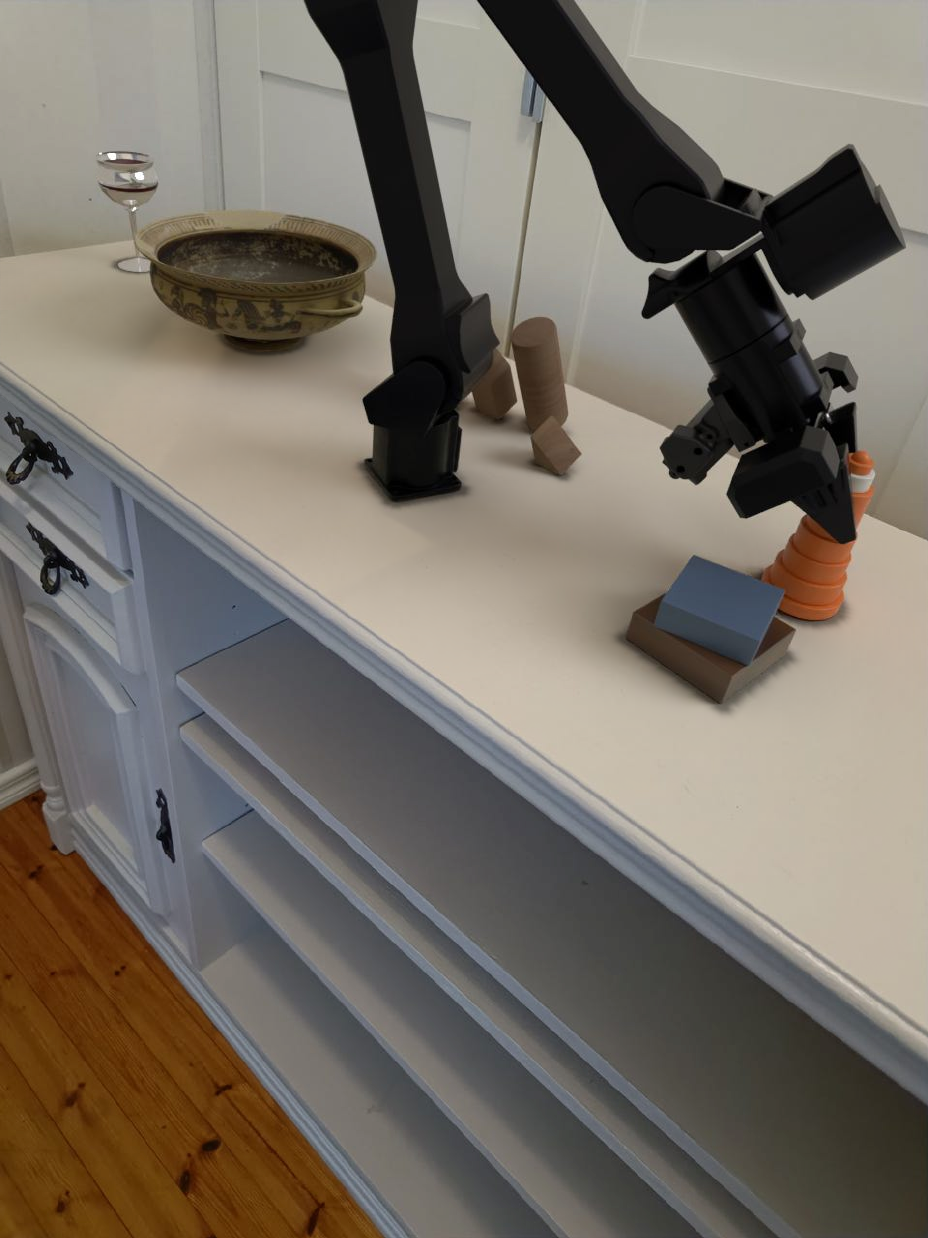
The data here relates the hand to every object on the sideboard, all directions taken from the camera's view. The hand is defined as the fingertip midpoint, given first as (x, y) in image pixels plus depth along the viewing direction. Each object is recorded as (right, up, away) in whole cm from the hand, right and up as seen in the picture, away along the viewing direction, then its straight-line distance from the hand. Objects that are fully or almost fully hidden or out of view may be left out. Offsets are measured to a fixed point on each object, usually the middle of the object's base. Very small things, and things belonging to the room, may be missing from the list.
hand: (851, 528), depth 60 cm
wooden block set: (-23, +12, +22) cm, 34 cm away
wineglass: (-68, +37, +45) cm, 90 cm away
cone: (-2, -5, +5) cm, 7 cm away
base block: (-11, -8, -1) cm, 14 cm away
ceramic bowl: (-49, +24, +32) cm, 64 cm away
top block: (-11, -7, -3) cm, 13 cm away
